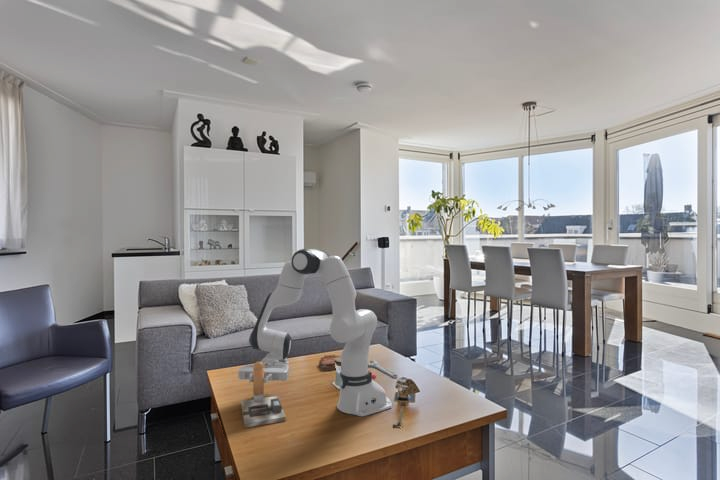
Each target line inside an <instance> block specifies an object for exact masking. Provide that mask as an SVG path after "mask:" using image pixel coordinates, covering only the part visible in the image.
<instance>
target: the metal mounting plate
mask: <svg viewBox="0 0 720 480" xmlns="http://www.w3.org/2000/svg"><path fill="white" fill-rule="evenodd" d="M277 398H279V396H278V395H275V396H274V395H273V396H268V397H267V396H266V397H263V401H262V402H259V403H255V402H254V398H253V399H247V400H241V401H240V406H241V413H242V420H243V426H244V428H245V429H246V428H251V427H257V426H263V425H268V424H275V423H280V422H286V421H287V420H286V419H287V418H286V417H287V416H286V414H285V412H284V408H283V406H282V405H281V412H276V413H273V411H272V408H271V399H277Z"/></svg>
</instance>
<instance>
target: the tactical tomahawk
mask: <svg viewBox="0 0 720 480" xmlns="http://www.w3.org/2000/svg"><path fill="white" fill-rule="evenodd" d="M406 404H407V403H406V401H403V400H402V401H401V403H400V407H401V406H405V407H406ZM404 411H405V408H404V409H403V408H400V409H399V413H398V414H399V415H398V420H397V424H395V423H394V424H392V428H394V429H401V428H400V427H402V426H401V424H402V425H403V423H402V421H401V420H403V415H404ZM395 427H396V428H395Z"/></svg>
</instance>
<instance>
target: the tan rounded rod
mask: <svg viewBox="0 0 720 480" xmlns="http://www.w3.org/2000/svg"><path fill="white" fill-rule="evenodd" d="M253 365H254V368H253V382H252V383H253V384H252V387H253V390H252V393H253V399H254V402H255V403H259V402H262V401H263V398H264V393H265V390H264V389H265V383H263V378H264V365H263V363H262V362H261V360H260V361H259V360H258V361H256V362H255V363H254V364H253Z"/></svg>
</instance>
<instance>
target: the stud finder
mask: <svg viewBox="0 0 720 480" xmlns="http://www.w3.org/2000/svg"><path fill="white" fill-rule="evenodd" d="M280 401H281V400H280V398H279V397H278V398H277V399H271V408H272V411H273V413H276V412H281V406H282V403H281V402H280Z"/></svg>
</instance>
